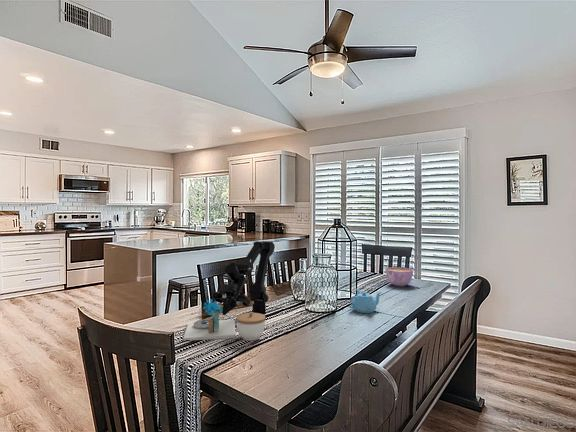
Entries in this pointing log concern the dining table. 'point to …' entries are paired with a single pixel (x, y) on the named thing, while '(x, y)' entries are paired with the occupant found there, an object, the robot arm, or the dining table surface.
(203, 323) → the flange plate
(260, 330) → the lidded bowl
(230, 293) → the robot arm
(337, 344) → the dining table surface
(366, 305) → the teapot
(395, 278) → the bowl of food
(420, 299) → the dining table surface
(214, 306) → the gear
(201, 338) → the clock board
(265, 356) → the dining table surface
